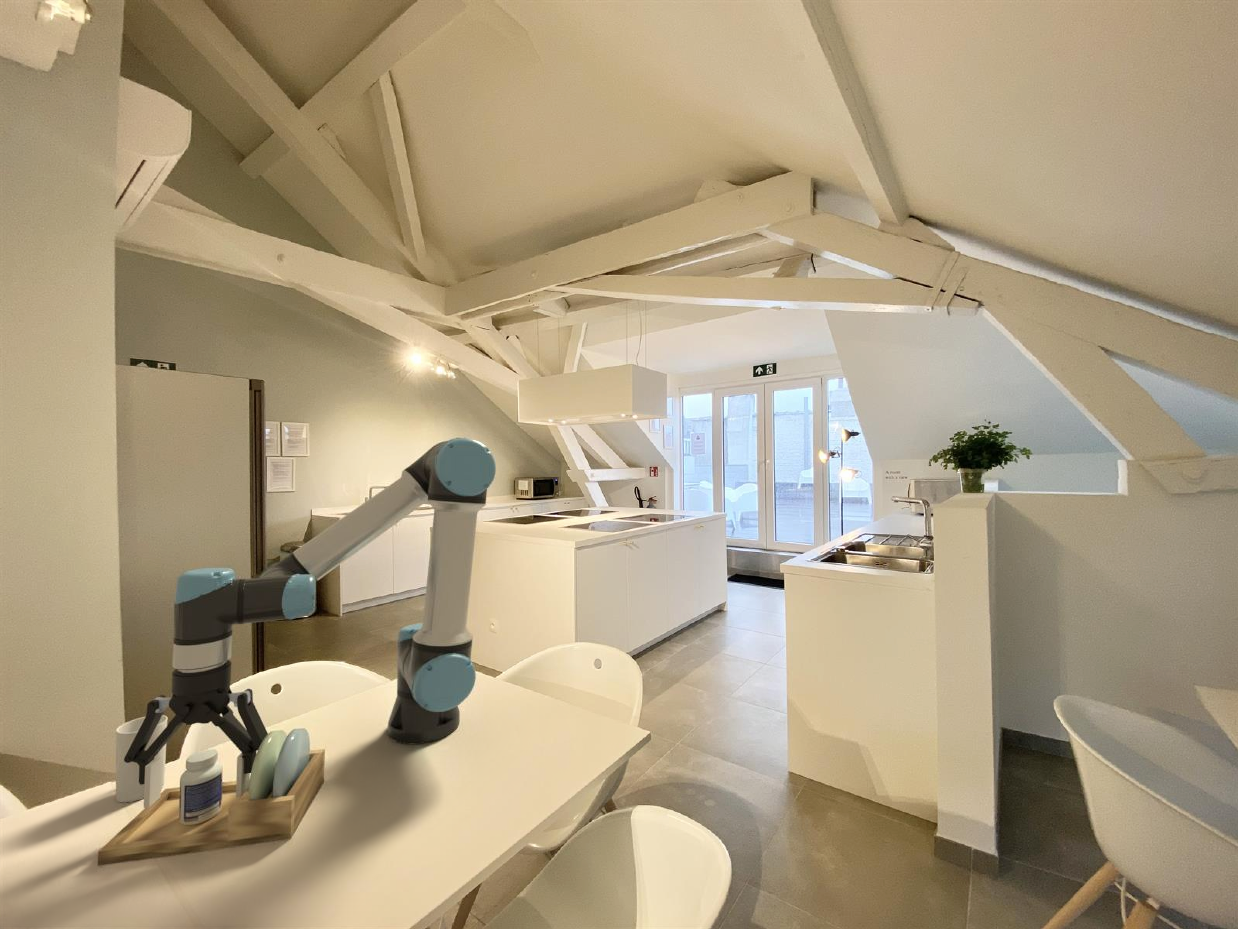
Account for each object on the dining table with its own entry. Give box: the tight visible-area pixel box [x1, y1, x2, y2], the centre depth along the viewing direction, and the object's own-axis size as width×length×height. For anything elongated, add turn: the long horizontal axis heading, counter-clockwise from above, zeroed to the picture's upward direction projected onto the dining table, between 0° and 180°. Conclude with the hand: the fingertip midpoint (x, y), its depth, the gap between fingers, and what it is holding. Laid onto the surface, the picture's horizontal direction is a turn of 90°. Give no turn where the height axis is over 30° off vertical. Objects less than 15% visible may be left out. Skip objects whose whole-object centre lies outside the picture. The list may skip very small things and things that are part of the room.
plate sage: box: [248, 729, 288, 801], centre depth 85 cm, size 1×12×12 cm, turn 13°
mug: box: [115, 715, 168, 803], centre depth 92 cm, size 10×7×12 cm, turn 16°
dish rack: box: [97, 748, 326, 867], centre depth 83 cm, size 25×15×6 cm, turn 103°
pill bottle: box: [179, 748, 223, 825], centre depth 82 cm, size 5×5×10 cm
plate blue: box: [273, 727, 311, 798], centre depth 85 cm, size 1×12×12 cm, turn 13°
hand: (198, 797), depth 82 cm, fingers open, 12 cm apart
